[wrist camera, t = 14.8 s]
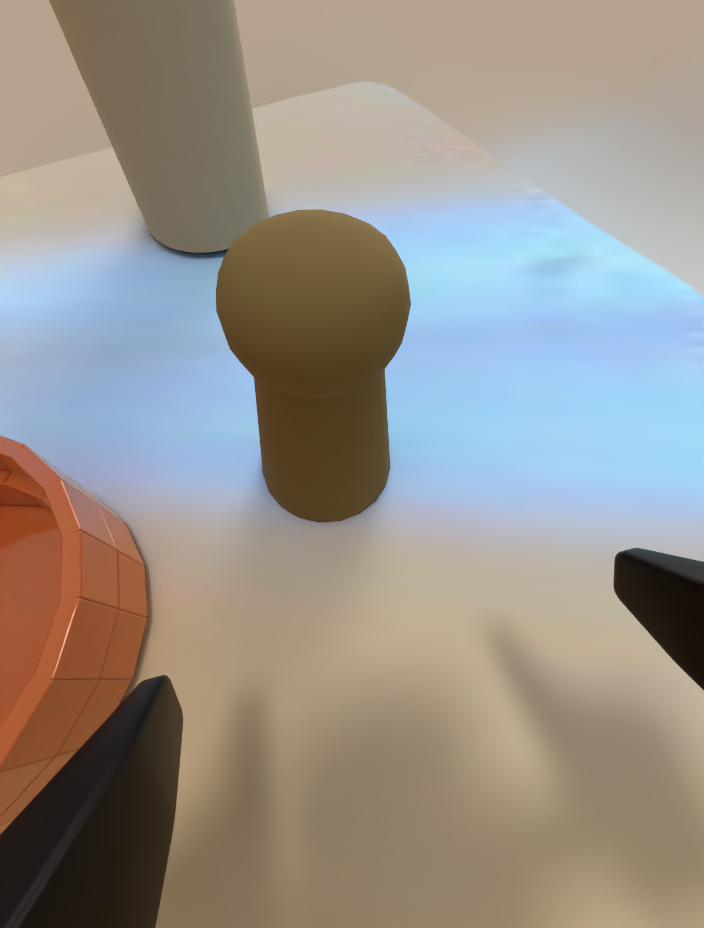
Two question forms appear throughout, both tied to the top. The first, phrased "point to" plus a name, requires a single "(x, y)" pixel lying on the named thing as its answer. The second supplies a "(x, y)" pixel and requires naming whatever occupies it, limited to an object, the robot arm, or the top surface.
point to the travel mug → (174, 112)
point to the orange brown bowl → (59, 620)
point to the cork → (317, 353)
